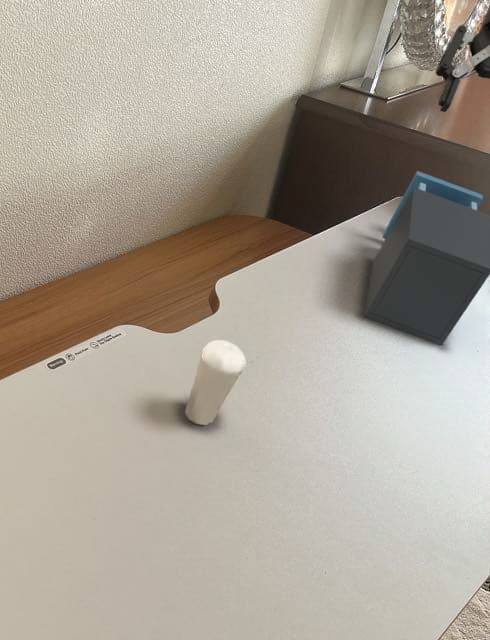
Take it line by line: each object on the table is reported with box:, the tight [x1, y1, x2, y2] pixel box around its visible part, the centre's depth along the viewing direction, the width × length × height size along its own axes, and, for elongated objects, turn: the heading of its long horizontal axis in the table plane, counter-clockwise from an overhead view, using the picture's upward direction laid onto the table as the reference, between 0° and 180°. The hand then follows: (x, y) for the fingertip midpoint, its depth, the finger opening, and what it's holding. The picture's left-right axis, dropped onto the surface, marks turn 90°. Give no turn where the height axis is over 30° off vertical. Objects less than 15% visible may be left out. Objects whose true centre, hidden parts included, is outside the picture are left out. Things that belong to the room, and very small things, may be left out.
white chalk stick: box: [184, 339, 259, 426], centre depth 91 cm, size 4×5×10 cm
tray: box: [382, 170, 484, 240], centre depth 120 cm, size 16×9×10 cm, turn 164°
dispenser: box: [364, 187, 490, 346], centre depth 114 cm, size 14×11×12 cm
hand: (474, 120), depth 121 cm, fingers open, 8 cm apart
